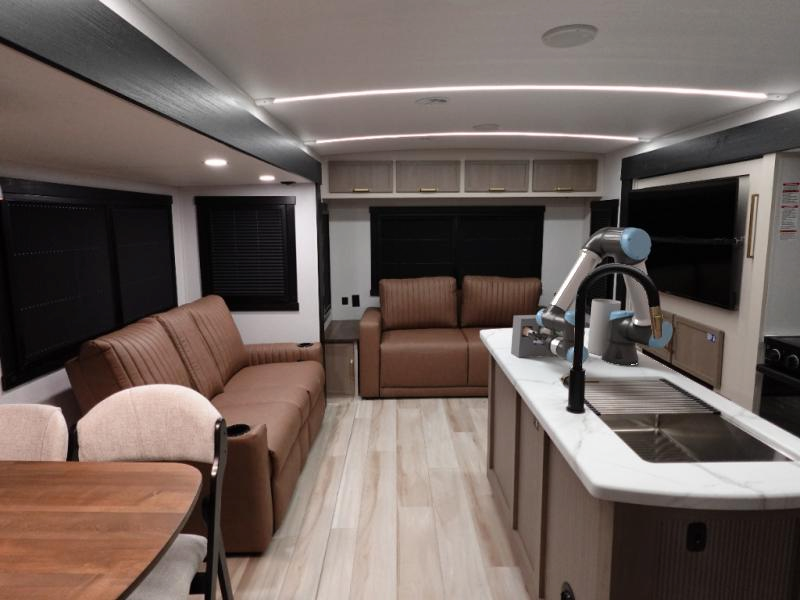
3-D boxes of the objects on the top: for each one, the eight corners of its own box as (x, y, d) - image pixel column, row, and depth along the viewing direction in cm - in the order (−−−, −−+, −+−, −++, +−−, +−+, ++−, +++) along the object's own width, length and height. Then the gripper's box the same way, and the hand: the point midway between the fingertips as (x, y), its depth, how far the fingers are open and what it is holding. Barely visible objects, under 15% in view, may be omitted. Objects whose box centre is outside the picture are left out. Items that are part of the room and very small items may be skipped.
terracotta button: (526, 333, 226) (527, 325, 225) (531, 335, 222) (531, 327, 221) (519, 334, 225) (519, 325, 224) (523, 336, 221) (524, 327, 220)
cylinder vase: (612, 357, 227) (618, 304, 222) (584, 353, 234) (589, 301, 229) (617, 352, 237) (623, 301, 233) (590, 347, 244) (595, 298, 240)
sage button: (560, 333, 227) (561, 325, 227) (565, 335, 224) (566, 327, 223) (553, 334, 226) (554, 326, 226) (558, 336, 223) (559, 327, 222)
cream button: (545, 334, 225) (545, 326, 225) (550, 336, 221) (550, 328, 221) (537, 334, 224) (538, 326, 224) (542, 336, 220) (543, 328, 220)
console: (554, 351, 235) (557, 314, 232) (563, 355, 229) (566, 317, 226) (511, 353, 229) (513, 315, 226) (518, 357, 222) (521, 318, 219)
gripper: (542, 355, 197) (514, 340, 220) (571, 353, 201) (539, 339, 223) (544, 337, 196) (515, 324, 218) (572, 335, 200) (541, 323, 222)
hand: (527, 332), depth 221 cm, fingers closed
